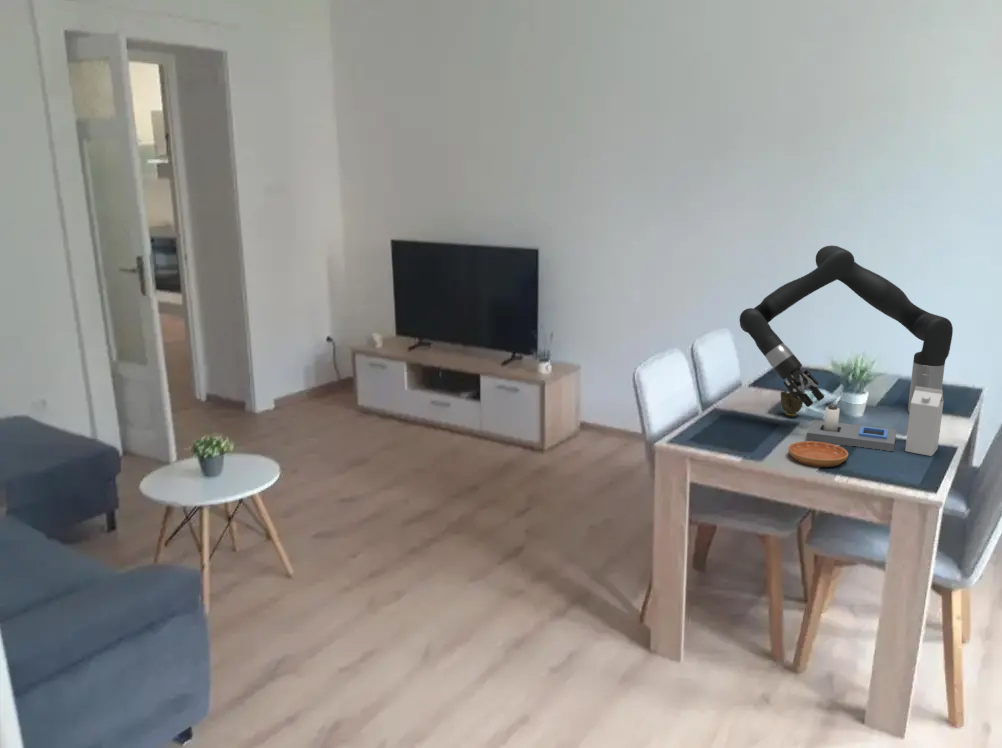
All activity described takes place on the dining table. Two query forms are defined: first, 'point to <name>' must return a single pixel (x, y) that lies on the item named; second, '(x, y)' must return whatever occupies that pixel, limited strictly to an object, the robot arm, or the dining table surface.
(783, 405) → the cup
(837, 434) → the block with square holes
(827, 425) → the capped white bottle
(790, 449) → the saucer
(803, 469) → the dining table surface
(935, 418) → the milk carton
